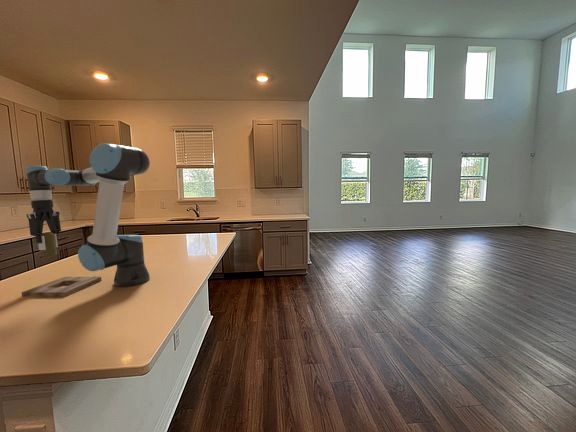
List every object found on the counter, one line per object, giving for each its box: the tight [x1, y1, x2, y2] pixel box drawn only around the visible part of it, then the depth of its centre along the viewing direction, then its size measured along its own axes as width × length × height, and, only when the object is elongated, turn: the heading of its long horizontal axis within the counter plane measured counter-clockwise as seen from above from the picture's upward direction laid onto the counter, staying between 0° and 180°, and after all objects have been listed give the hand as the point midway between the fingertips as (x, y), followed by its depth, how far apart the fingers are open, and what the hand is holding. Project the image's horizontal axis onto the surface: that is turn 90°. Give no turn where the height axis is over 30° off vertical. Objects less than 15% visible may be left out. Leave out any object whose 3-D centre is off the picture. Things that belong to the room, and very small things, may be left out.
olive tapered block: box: [40, 231, 59, 258], centre depth 126 cm, size 6×6×11 cm
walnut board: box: [21, 276, 103, 298], centre depth 123 cm, size 20×20×2 cm
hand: (48, 248), depth 126 cm, fingers closed on olive tapered block, 5 cm apart
